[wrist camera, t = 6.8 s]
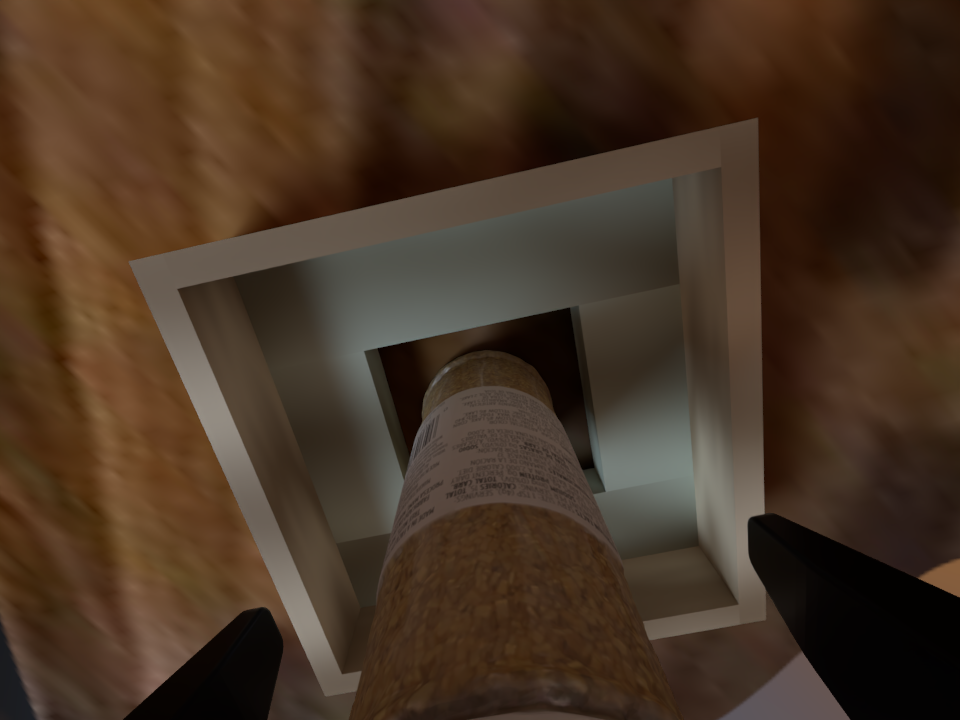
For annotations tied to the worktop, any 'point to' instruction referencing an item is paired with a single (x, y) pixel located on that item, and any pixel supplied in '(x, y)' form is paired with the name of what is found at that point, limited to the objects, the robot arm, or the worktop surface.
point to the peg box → (477, 302)
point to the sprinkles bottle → (503, 571)
